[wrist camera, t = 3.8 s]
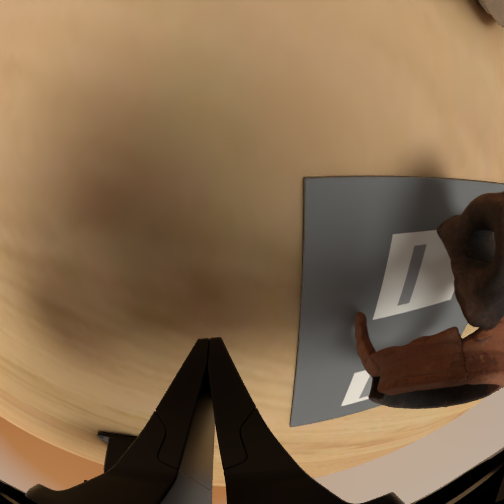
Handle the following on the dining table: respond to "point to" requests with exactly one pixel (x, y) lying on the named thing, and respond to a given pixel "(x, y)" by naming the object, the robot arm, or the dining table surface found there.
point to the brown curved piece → (449, 341)
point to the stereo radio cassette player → (494, 9)
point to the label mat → (371, 279)
